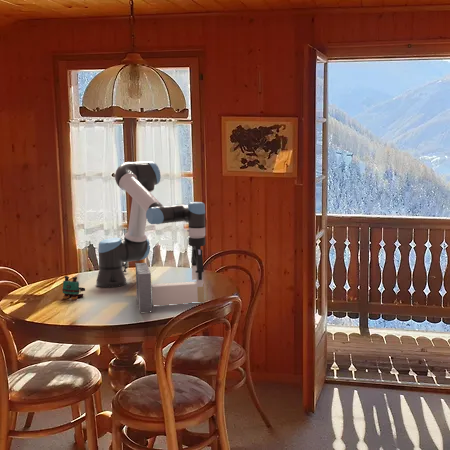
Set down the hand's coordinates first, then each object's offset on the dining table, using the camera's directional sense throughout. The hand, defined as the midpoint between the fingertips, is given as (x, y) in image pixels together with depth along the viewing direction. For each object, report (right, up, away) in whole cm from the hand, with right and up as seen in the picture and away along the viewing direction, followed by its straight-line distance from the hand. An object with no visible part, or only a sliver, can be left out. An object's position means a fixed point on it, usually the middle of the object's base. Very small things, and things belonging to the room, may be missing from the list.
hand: (197, 283), depth 282 cm
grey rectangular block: (-9, -9, -1) cm, 13 cm away
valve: (-49, -1, +66) cm, 82 cm away
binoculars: (-59, -8, +13) cm, 61 cm away
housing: (-24, -10, -4) cm, 26 cm away
